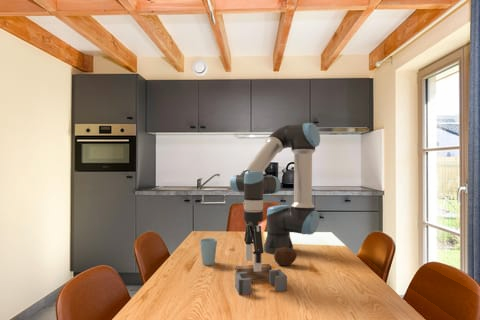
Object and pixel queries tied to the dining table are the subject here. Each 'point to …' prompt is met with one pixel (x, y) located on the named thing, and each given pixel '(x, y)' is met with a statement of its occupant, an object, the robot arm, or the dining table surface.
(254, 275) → the dark brown block
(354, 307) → the dining table surface
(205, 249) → the cup
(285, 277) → the endcap
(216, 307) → the dining table surface
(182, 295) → the dining table surface
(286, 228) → the robot arm
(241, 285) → the endcap
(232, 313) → the dining table surface
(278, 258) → the potato
